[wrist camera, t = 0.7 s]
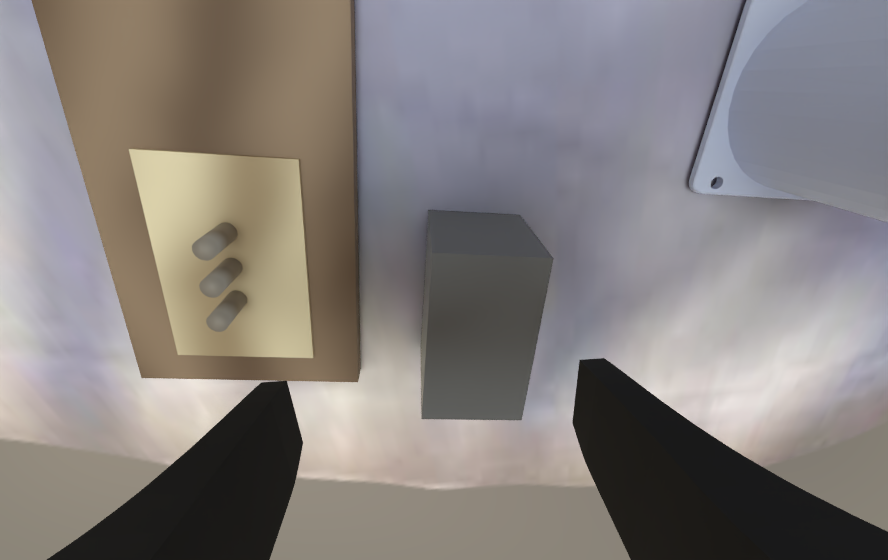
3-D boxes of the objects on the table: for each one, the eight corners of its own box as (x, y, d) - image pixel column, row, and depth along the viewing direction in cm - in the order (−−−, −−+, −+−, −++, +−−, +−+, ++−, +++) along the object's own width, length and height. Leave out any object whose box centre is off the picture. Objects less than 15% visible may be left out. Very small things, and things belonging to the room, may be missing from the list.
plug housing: (519, 214, 18) (553, 258, 14) (499, 348, 21) (521, 420, 17) (428, 210, 18) (432, 252, 13) (420, 346, 21) (421, 418, 16)
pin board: (351, -160, 13) (332, -231, 10) (360, 369, 21) (351, 414, 18) (-1, -204, 12) (-133, -295, 9) (153, 364, 20) (110, 411, 18)
